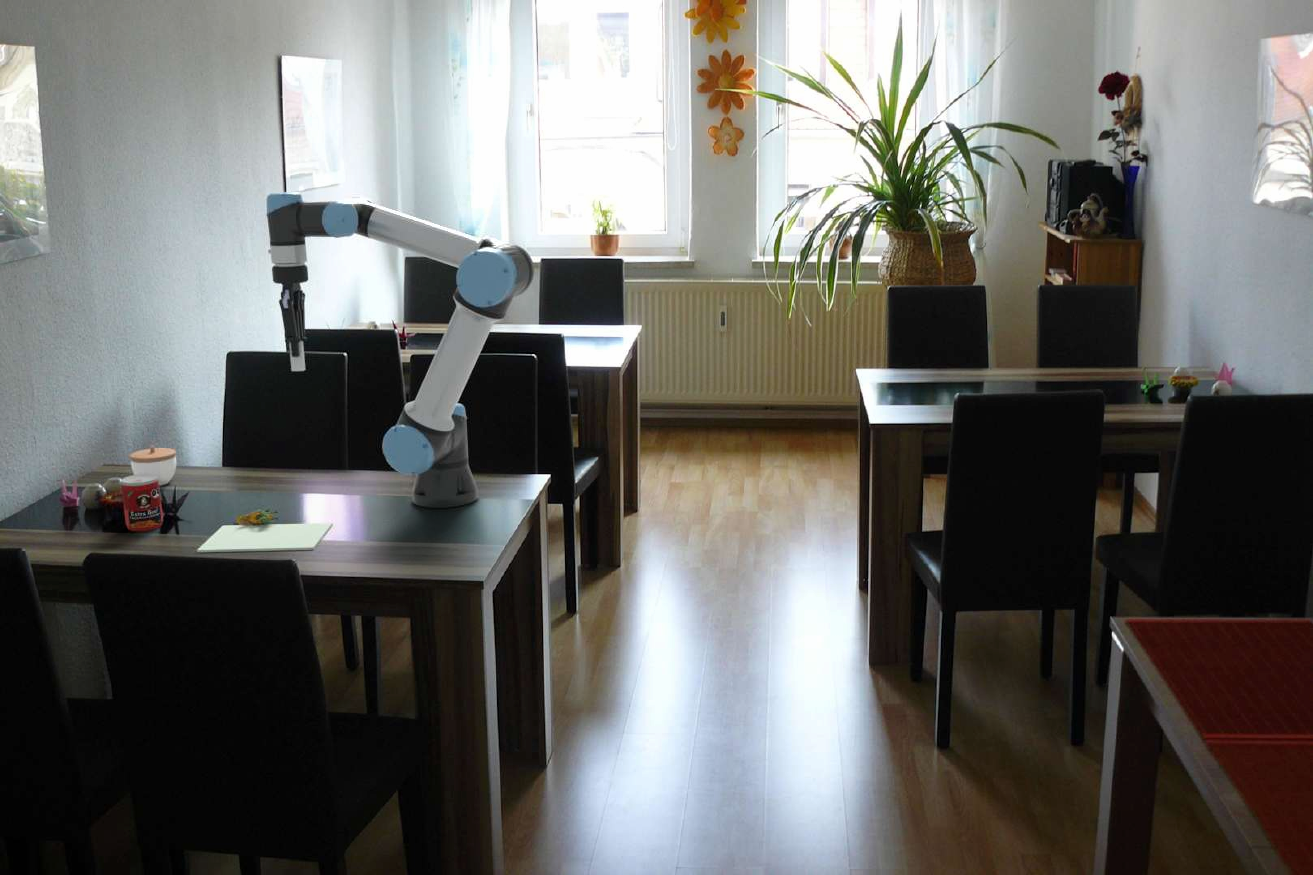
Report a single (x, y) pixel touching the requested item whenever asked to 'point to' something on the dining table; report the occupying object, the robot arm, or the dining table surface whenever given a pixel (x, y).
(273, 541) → the mat
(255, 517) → the figurine
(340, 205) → the robot arm
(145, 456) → the lidded jar
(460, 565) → the dining table surface
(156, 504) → the canned food
